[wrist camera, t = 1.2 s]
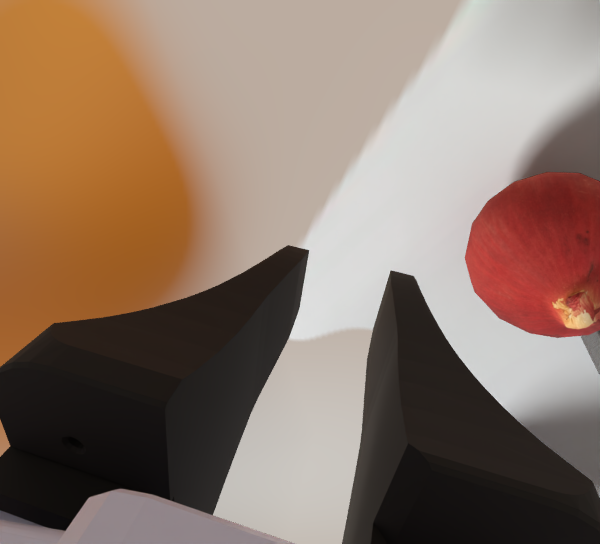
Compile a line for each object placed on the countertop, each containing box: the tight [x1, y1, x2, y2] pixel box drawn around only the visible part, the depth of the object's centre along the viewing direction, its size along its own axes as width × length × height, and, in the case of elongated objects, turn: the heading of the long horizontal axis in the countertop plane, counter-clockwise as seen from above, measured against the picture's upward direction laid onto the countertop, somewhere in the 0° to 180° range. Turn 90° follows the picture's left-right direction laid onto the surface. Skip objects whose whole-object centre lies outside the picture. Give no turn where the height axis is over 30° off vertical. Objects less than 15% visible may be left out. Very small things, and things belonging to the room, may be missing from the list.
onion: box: [465, 172, 600, 338], centre depth 15 cm, size 6×6×8 cm
